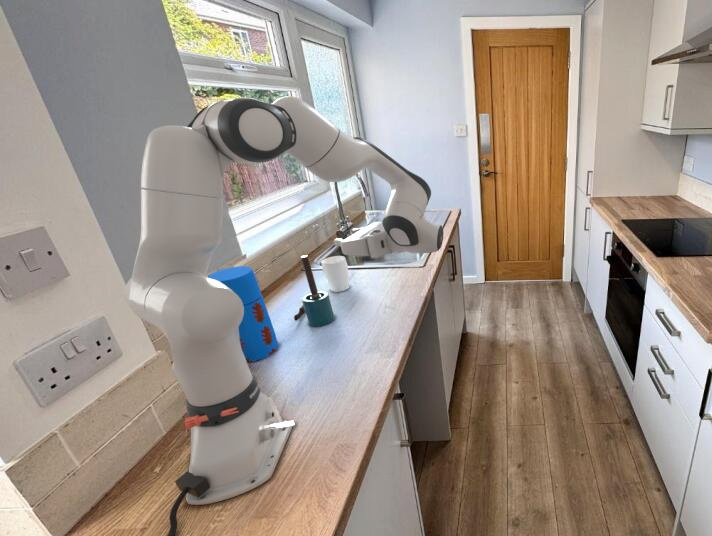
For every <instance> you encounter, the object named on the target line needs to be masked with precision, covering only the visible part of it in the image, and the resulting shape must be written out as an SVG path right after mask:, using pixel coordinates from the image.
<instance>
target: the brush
mask: <svg viewBox="0 0 712 536" xmlns="http://www.w3.org/2000/svg"><path fill="white" fill-rule="evenodd" d="M300 259H301V264H302V266H303V270H304V274H305V277H306V280H307V284H308V287H309V291H310V293H311V297H310V300H316V299H319V298H322V296H321V295H319V292H318V291H319V290H318V288H317V284H316V279H315V277H314V273H313V269H312V266H311V263H310V259H309V256H308V255H302V256H300Z"/></svg>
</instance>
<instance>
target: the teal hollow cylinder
mask: <svg viewBox="0 0 712 536" xmlns="http://www.w3.org/2000/svg"><path fill="white" fill-rule="evenodd" d="M317 291H318V292H319V295H321V296H322V298H319V299H316V300H310V297H311V292H310V293H307V294H305V295H304V296H303V297H302V298H301V302H302V305H304V309H305V312H304V313H305V315H306V318H307V321H308V324H309V325H310V326H311V327H322V326H326V325H328V324H330V323H332V322H333V321H334V320H335V314H334V310H333V305H332V304H331V299H330V295H329V293H328V292H327V291H325V290H317Z"/></svg>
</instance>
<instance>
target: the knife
mask: <svg viewBox="0 0 712 536" xmlns="http://www.w3.org/2000/svg"><path fill="white" fill-rule="evenodd" d="M305 313H306V312H305V309H304V305H303V304H302V305H301V307H299V310H298V312H297V314H295V315H294V316H293V319H294V321H296V322H297V321H298V320H299V319H300V318H301V317H302V316H303V314H305Z"/></svg>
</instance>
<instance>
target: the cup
mask: <svg viewBox="0 0 712 536" xmlns="http://www.w3.org/2000/svg"><path fill="white" fill-rule="evenodd" d="M320 264H321V269H322V272H323V274H324V275H323V276H324V277H325V279H326V282H327V283H328V286H329V288H330V290H331V292H332V293H333V292H334V293H339V292H344V291H347V290H348V289H349V288H350V277H349V276H350V275H349V264H348V262H347V258H346V257H345V256H343V255H332V256H328V257H325V258H323V259H322V260H321V261H320Z"/></svg>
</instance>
